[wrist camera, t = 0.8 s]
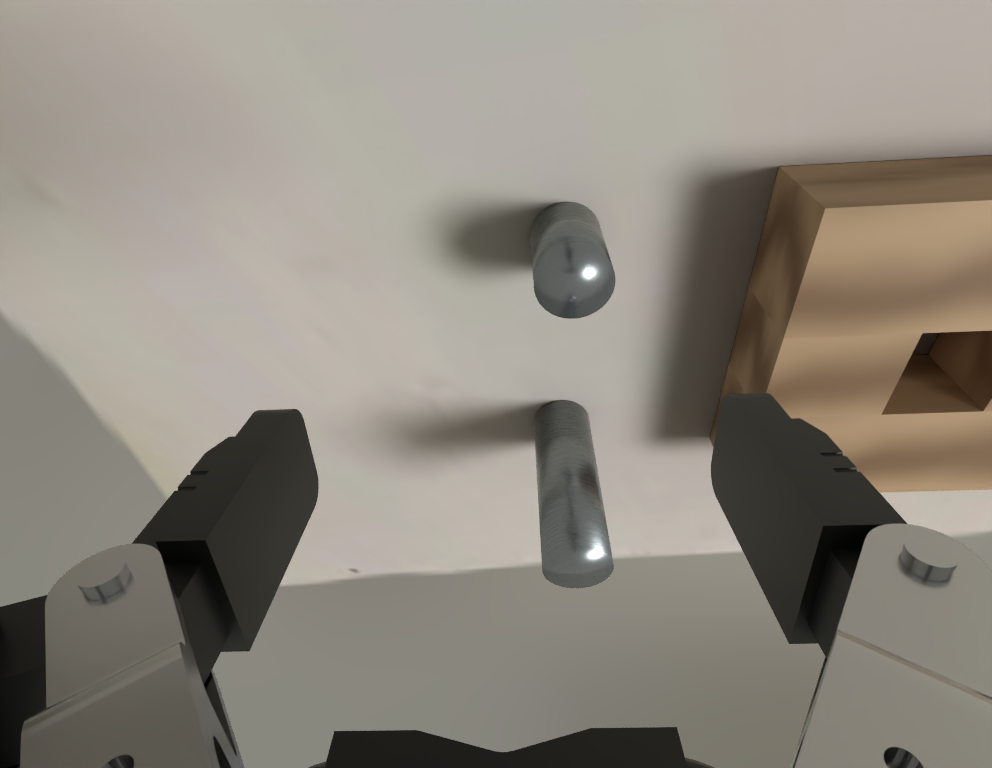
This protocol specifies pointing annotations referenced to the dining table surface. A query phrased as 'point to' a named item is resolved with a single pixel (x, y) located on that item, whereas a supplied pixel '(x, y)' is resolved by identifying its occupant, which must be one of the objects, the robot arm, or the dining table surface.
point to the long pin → (570, 498)
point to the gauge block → (878, 316)
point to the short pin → (570, 261)
